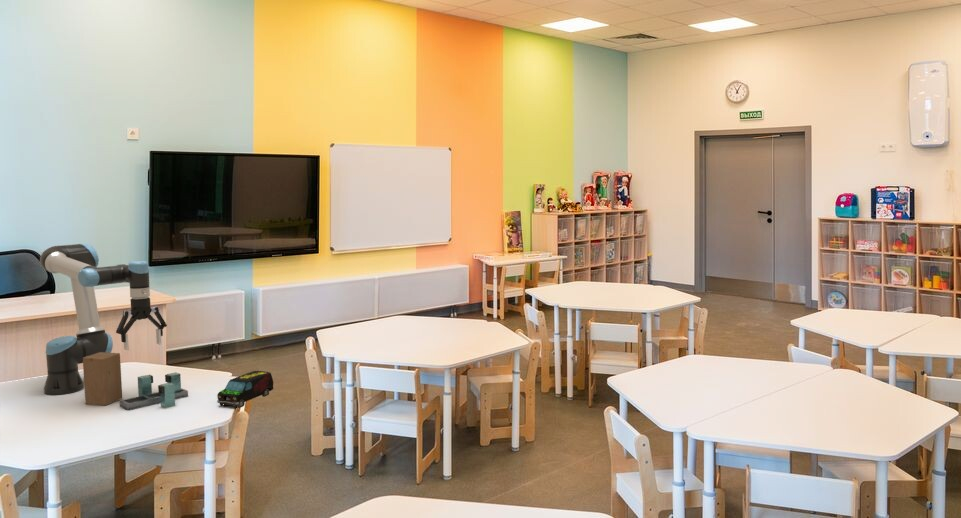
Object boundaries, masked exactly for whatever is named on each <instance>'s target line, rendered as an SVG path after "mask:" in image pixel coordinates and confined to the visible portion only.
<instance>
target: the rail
mask: <svg viewBox="0 0 961 518" xmlns="http://www.w3.org/2000/svg"><path fill="white" fill-rule="evenodd" d="M164 379H165V381H164V382H165V383H172V384H174V391H175V400H178V399H183V398H187V397H189V391H188V390H187V389H184V388H182V382H181V381H182V380H181V373H179V372H171V373H170V372H169V373H167V374H165V375H164ZM156 404H157V405H158V404H161V394H160V393H159V392H158V391H157V392H152V393H151V394H147V395H142V396H135V397H130V398H125V399H120V400H119V407H120V408H121V409H124V410H126V411H132V410H135V409H141V408H144V407H145V408H146V407H149V406H152V405H153V406H154V405H156Z"/></svg>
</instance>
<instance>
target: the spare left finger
mask: <svg viewBox="0 0 961 518" xmlns="http://www.w3.org/2000/svg"><path fill="white" fill-rule="evenodd" d="M157 392H159V393H160V394H161V403H160V406H161V407H163V408H165V409H167V408H170V407H176V399H175V391H174V384H172V383H167V382H165V383H162V384H161V383H160V384H159V385H157Z"/></svg>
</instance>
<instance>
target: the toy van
mask: <svg viewBox="0 0 961 518" xmlns="http://www.w3.org/2000/svg"><path fill="white" fill-rule="evenodd" d="M224 387H225V388H223V389H222V390H220V391H218V392H217V395H216V396H217V400H216V403H218V404H219V405H220V406H221V405H222V406H224V405H223V404H225V405H228V406H236V407H237V409H240V408H243V407H245V403H246V402H248V401H251V400H253V399H256V398H257V397H261V396H262V397H263V398H264V397H267V396H269V395H270V392H271V391H273V390H275V387H274V380H273V376H272V373H271V372H269V371H264V370H263V371H262V370H253V371H250V372H248V373H247V372H246V373H244V374H241V375H239V376H235V377H234V378H232V379H229V381H228V382H227V384H226V386H224Z"/></svg>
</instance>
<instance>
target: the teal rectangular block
mask: <svg viewBox="0 0 961 518" xmlns="http://www.w3.org/2000/svg"><path fill="white" fill-rule="evenodd" d="M152 384H154V376H153V375H152V374H145V375H140V376H137V392H138V393H137V394H138V396H142V395H147V394H151V393H153V387H152ZM138 396H137V397H138Z"/></svg>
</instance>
